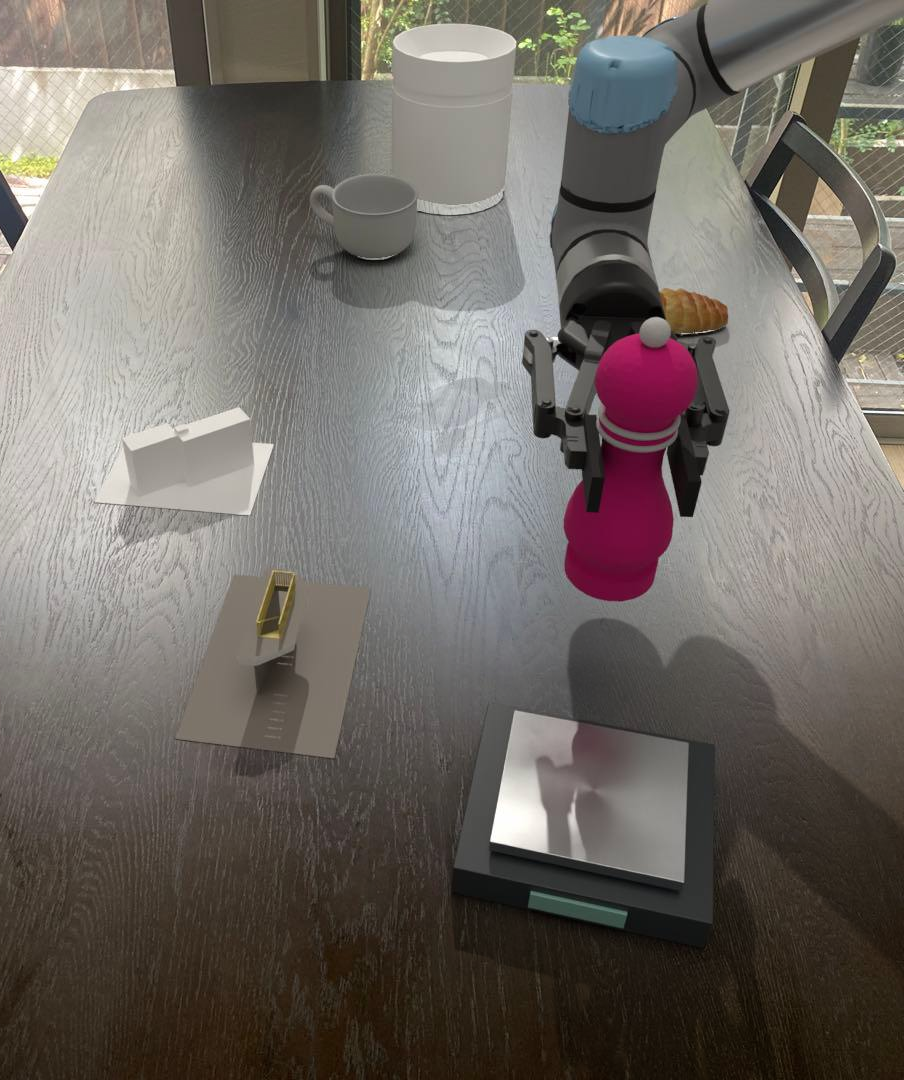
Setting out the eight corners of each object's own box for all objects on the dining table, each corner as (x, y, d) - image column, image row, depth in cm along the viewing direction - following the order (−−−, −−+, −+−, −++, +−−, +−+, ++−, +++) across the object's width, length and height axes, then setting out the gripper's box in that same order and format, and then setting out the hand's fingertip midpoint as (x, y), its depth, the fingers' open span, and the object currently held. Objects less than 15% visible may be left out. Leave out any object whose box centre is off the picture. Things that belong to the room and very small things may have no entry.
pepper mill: (663, 613, 73) (726, 357, 59) (554, 601, 74) (593, 346, 60) (659, 543, 78) (717, 293, 65) (558, 533, 79) (595, 284, 66)
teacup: (431, 243, 140) (433, 184, 135) (390, 278, 133) (390, 216, 128) (340, 220, 146) (338, 162, 141) (295, 252, 139) (292, 192, 134)
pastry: (718, 309, 127) (725, 279, 125) (732, 339, 122) (740, 309, 120) (638, 309, 127) (643, 280, 125) (649, 339, 122) (655, 309, 120)
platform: (371, 588, 92) (371, 530, 88) (334, 758, 78) (332, 699, 74) (234, 574, 93) (227, 516, 89) (175, 738, 80) (163, 679, 76)
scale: (706, 770, 77) (715, 744, 76) (703, 952, 67) (713, 927, 65) (485, 728, 80) (488, 701, 79) (449, 896, 70) (452, 870, 68)
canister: (490, 222, 145) (502, 67, 132) (376, 207, 149) (377, 55, 136) (515, 176, 156) (528, 29, 143) (409, 163, 160) (412, 19, 147)
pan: (686, 751, 75) (689, 742, 74) (681, 891, 67) (684, 882, 66) (513, 719, 77) (514, 710, 76) (488, 850, 69) (489, 841, 68)
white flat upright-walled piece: (274, 442, 108) (271, 394, 104) (251, 515, 99) (246, 466, 95) (128, 432, 109) (119, 384, 105) (93, 503, 101) (82, 454, 97)
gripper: (719, 352, 84) (781, 551, 66) (486, 343, 85) (487, 537, 68) (740, 263, 79) (813, 453, 61) (493, 255, 80) (496, 439, 63)
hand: (643, 496), depth 65 cm, fingers closed on pepper mill, 5 cm apart
